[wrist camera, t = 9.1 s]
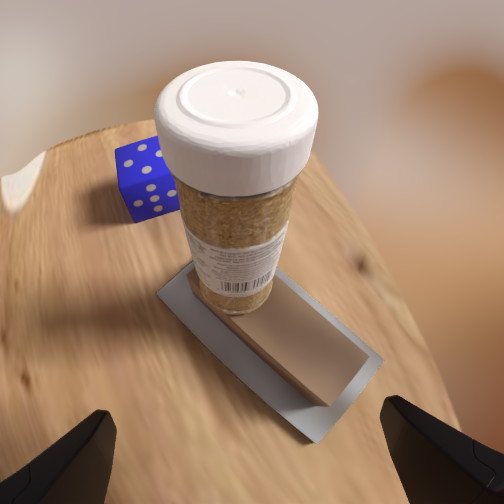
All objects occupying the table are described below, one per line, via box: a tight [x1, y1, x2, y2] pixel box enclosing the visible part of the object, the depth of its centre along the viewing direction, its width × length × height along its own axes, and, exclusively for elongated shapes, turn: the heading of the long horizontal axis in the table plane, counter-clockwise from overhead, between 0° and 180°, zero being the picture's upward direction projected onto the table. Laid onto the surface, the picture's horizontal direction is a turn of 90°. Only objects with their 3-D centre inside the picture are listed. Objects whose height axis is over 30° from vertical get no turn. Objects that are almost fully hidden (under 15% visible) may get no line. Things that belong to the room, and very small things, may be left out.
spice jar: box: [154, 61, 318, 315], centre depth 13 cm, size 5×5×14 cm
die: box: [115, 136, 180, 223], centre depth 25 cm, size 5×5×5 cm
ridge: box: [156, 261, 384, 444], centre depth 20 cm, size 8×16×4 cm, turn 46°
